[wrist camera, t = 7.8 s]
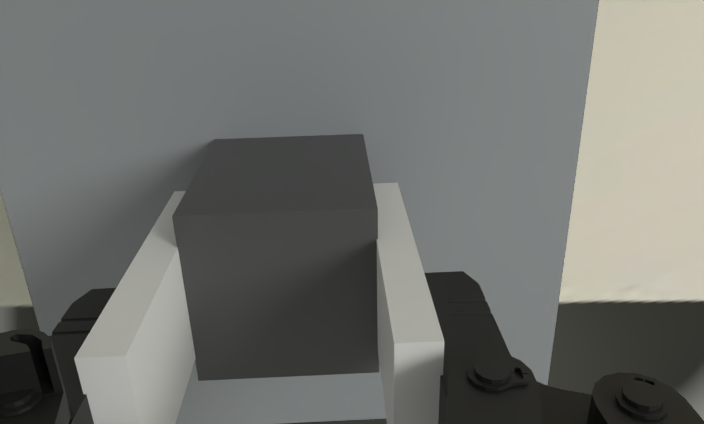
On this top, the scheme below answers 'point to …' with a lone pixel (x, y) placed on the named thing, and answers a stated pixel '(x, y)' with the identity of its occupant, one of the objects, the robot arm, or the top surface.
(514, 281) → the cover sheet
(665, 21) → the top surface
